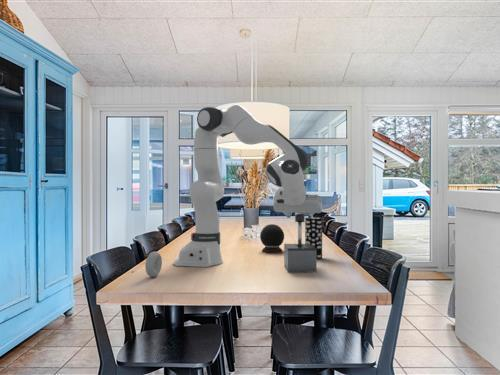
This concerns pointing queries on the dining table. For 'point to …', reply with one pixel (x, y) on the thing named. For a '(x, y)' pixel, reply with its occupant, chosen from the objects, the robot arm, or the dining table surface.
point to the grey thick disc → (153, 264)
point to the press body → (300, 258)
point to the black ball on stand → (272, 238)
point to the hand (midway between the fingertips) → (299, 217)
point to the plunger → (299, 226)
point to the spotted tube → (314, 234)
